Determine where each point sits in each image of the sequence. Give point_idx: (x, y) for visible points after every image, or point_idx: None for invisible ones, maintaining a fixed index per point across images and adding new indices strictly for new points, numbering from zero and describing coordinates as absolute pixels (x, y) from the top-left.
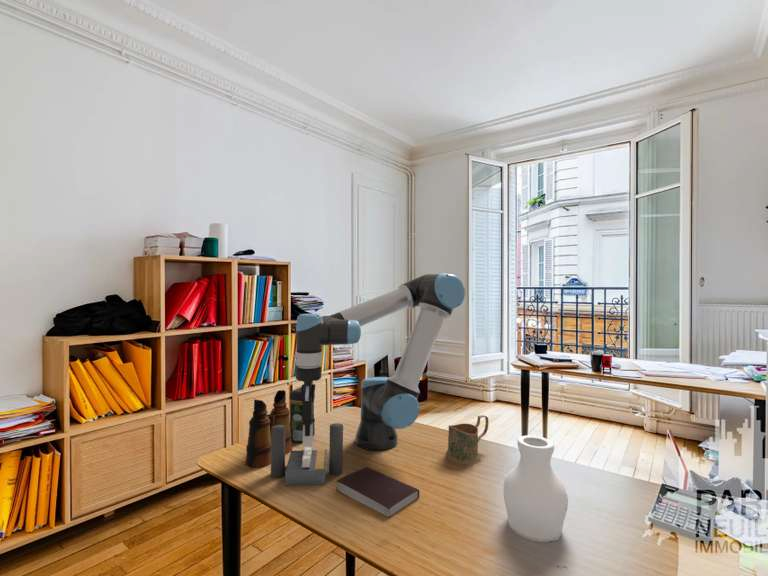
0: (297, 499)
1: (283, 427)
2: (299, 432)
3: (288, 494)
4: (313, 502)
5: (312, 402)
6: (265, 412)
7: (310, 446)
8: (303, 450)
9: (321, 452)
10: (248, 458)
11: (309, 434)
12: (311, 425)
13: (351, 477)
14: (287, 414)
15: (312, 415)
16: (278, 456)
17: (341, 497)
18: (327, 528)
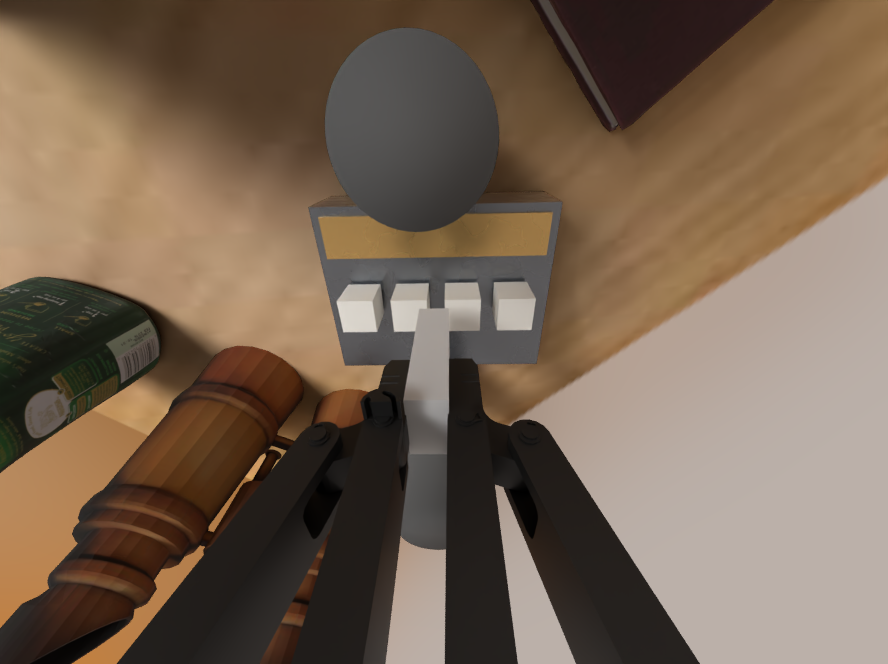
0: (626, 287)
1: (444, 514)
2: (124, 353)
3: (583, 317)
4: (670, 230)
5: (327, 643)
6: (297, 617)
7: (373, 305)
8: (335, 320)
9: (357, 234)
10: None
11: (477, 367)
12: (449, 396)
13: (627, 26)
14: (151, 497)
15: (331, 440)
16: None
17: (682, 102)
18: (877, 163)
